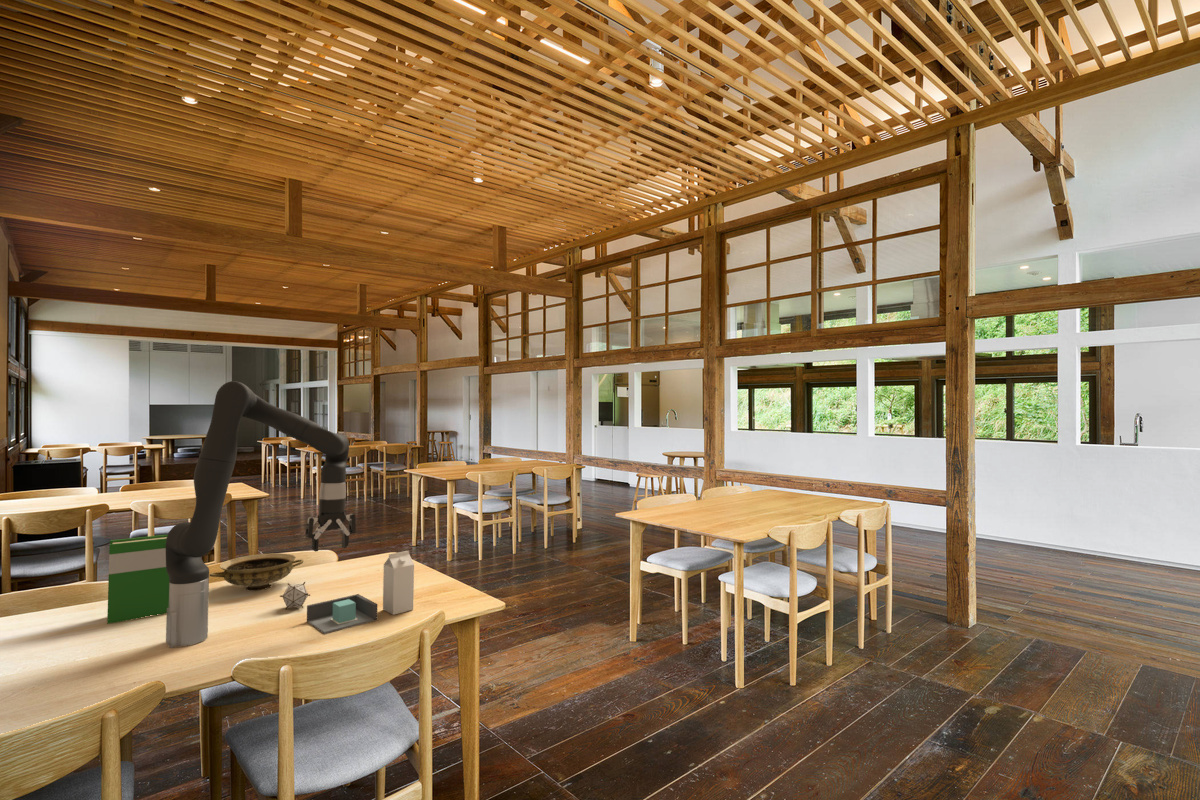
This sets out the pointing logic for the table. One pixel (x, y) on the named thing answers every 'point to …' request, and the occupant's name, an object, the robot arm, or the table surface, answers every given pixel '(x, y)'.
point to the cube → (344, 611)
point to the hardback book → (137, 578)
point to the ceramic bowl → (257, 570)
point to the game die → (295, 595)
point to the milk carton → (398, 583)
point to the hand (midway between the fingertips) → (330, 549)
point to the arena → (323, 614)
